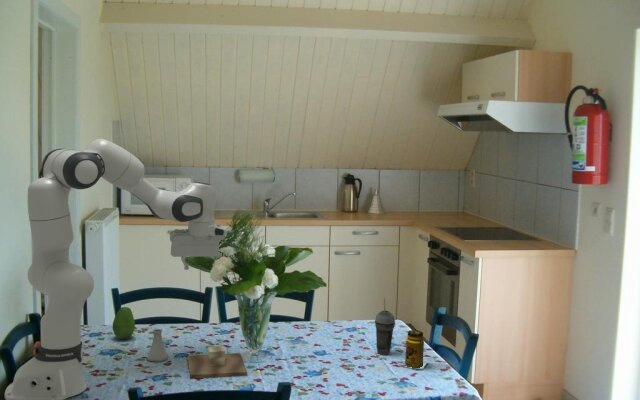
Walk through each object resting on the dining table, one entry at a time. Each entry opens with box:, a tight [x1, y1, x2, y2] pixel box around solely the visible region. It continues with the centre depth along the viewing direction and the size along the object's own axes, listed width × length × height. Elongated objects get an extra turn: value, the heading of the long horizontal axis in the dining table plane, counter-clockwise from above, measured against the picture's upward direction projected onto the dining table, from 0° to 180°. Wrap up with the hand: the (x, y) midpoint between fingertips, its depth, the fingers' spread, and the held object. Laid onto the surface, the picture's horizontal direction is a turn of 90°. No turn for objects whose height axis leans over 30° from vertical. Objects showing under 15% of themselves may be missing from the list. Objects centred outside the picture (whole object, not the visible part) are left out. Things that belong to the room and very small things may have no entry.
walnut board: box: [187, 352, 248, 380], centre depth 228 cm, size 18×18×1 cm
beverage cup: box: [374, 297, 396, 356], centre depth 246 cm, size 7×7×20 cm
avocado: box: [112, 306, 136, 340], centre depth 253 cm, size 8×8×12 cm
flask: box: [146, 328, 169, 362], centre depth 234 cm, size 7×7×10 cm
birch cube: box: [207, 345, 226, 367], centre depth 228 cm, size 5×5×5 cm
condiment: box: [404, 329, 425, 368], centre depth 235 cm, size 7×8×12 cm
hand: (200, 269), depth 236 cm, fingers open, 8 cm apart
